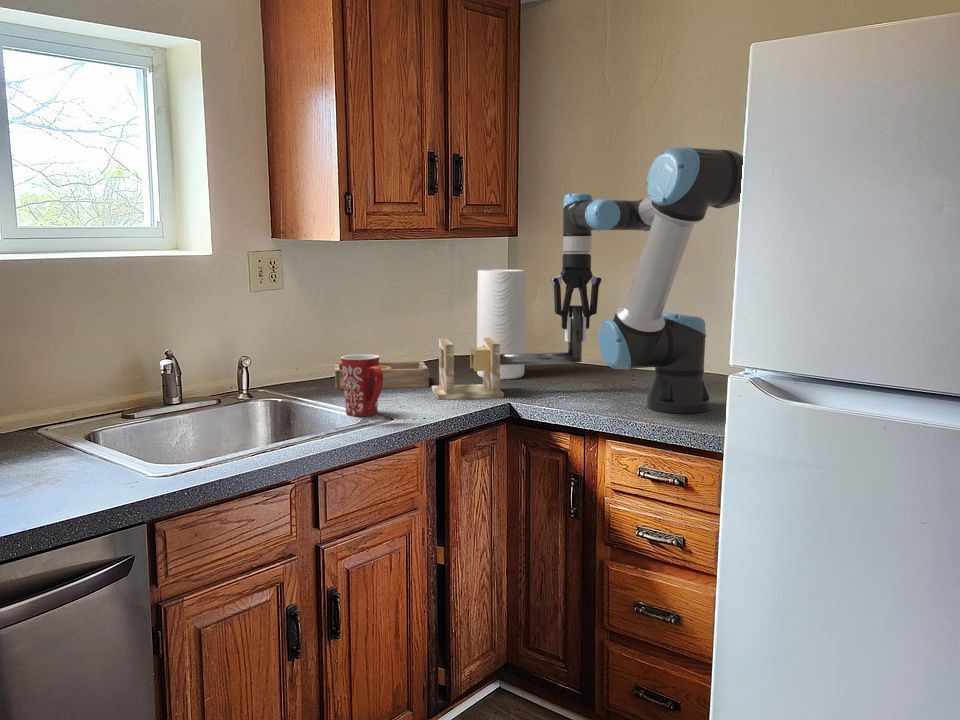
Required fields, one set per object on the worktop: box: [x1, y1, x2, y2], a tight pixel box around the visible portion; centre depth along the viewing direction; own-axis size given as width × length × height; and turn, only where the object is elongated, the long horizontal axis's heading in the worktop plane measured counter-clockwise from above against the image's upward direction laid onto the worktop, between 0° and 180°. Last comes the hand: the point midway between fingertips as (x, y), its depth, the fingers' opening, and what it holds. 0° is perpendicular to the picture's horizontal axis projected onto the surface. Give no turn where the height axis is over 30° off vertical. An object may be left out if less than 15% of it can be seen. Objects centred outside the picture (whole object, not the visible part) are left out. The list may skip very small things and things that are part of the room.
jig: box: [431, 338, 505, 400], centre depth 222 cm, size 17×14×14 cm
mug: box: [340, 353, 383, 417], centre depth 195 cm, size 13×9×14 cm
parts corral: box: [334, 360, 430, 390], centre depth 239 cm, size 15×25×5 cm, turn 100°
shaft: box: [500, 304, 583, 365], centre depth 224 cm, size 26×4×16 cm, turn 100°
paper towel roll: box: [476, 269, 526, 381], centre depth 250 cm, size 14×14×32 cm
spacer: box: [469, 346, 490, 372], centre depth 223 cm, size 7×4×6 cm, turn 10°
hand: (575, 340), depth 226 cm, fingers closed on shaft, 4 cm apart
